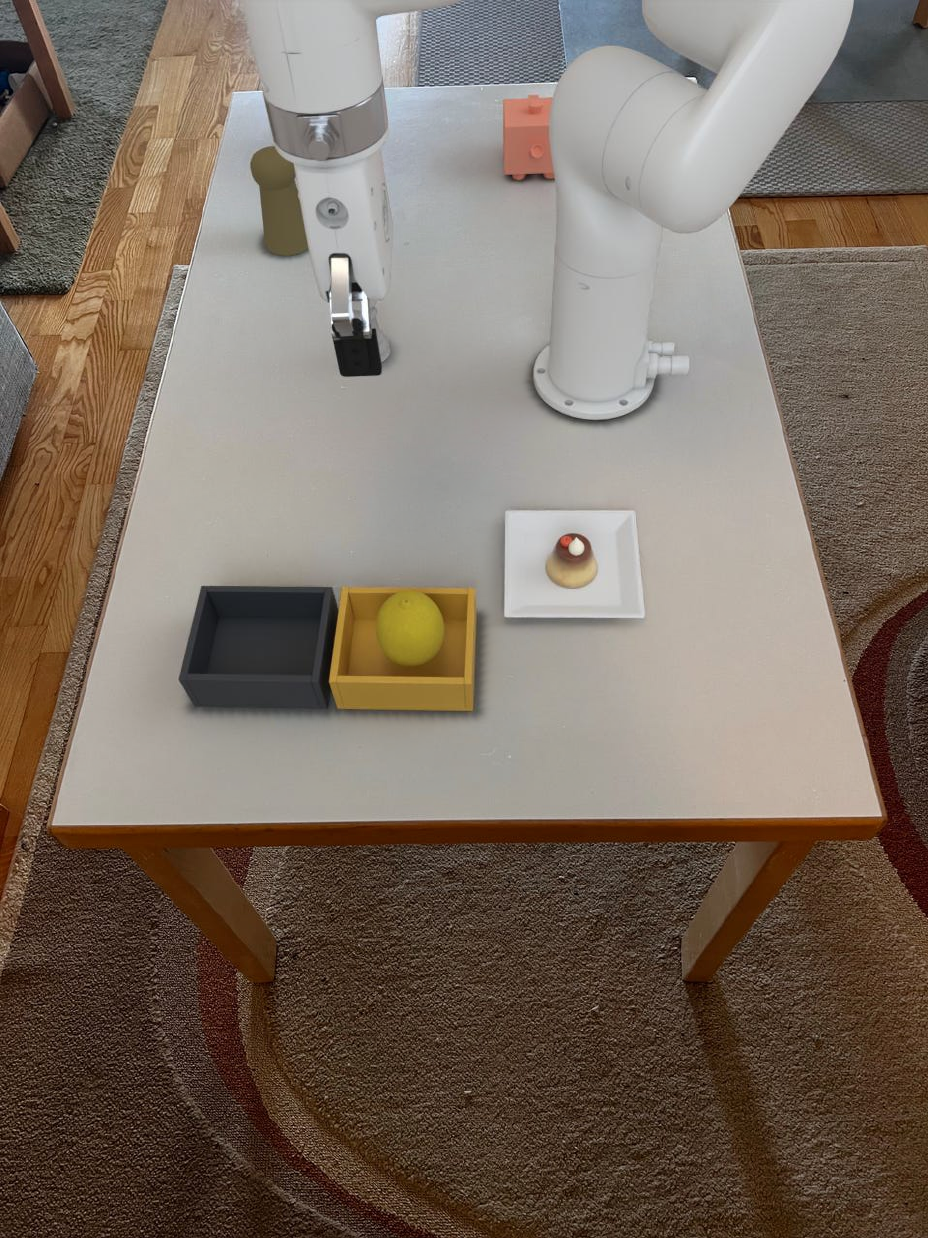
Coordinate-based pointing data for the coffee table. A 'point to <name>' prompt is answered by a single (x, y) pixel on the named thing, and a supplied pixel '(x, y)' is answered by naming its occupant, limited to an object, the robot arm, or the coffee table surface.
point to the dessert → (572, 564)
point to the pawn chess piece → (279, 203)
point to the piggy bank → (527, 137)
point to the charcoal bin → (261, 647)
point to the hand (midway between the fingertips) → (365, 331)
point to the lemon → (410, 628)
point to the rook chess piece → (381, 337)
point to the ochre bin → (389, 686)
